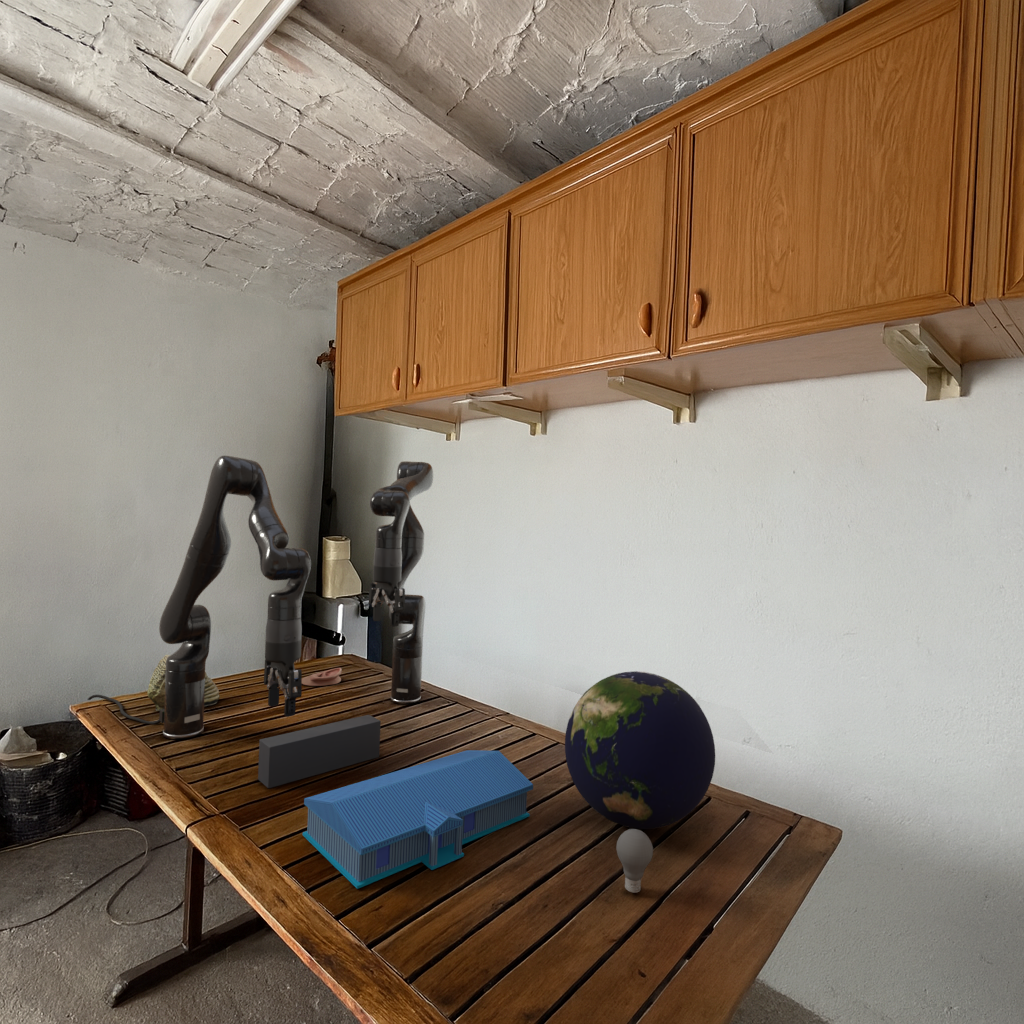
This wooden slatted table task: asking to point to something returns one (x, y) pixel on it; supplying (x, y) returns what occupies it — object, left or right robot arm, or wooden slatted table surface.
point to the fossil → (158, 687)
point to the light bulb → (634, 857)
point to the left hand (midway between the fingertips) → (281, 710)
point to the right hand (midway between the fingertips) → (385, 623)
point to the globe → (640, 750)
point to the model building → (416, 814)
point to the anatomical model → (323, 678)
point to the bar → (317, 750)
